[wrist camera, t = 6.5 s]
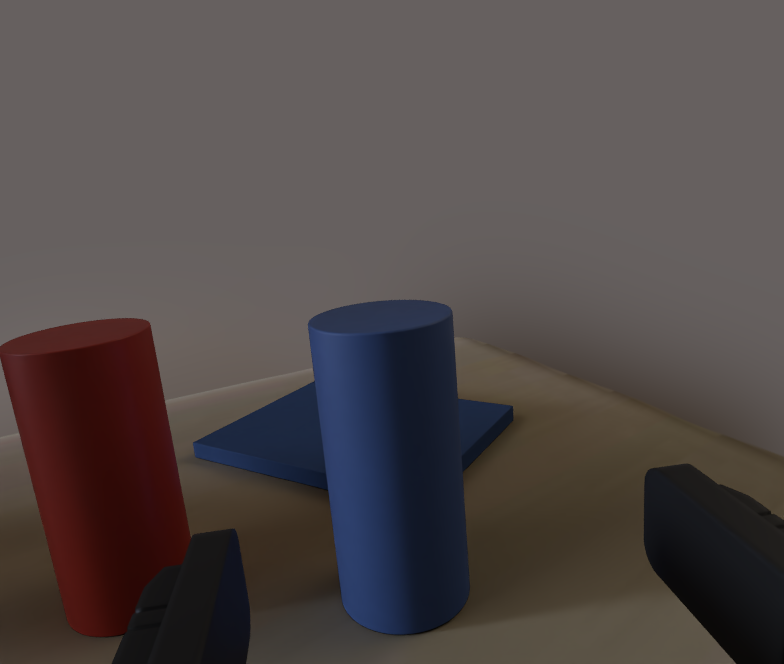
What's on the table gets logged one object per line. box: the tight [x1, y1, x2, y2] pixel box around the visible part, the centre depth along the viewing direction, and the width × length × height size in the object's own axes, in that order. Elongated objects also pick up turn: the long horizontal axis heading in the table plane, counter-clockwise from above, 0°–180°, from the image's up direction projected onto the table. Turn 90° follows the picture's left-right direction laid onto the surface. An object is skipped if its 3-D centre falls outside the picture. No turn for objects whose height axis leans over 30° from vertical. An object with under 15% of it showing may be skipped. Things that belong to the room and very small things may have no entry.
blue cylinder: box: [308, 300, 470, 635], centre depth 22 cm, size 5×5×11 cm
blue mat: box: [193, 381, 513, 490], centre depth 38 cm, size 16×12×1 cm
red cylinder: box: [0, 318, 191, 637], centre depth 24 cm, size 5×5×11 cm
